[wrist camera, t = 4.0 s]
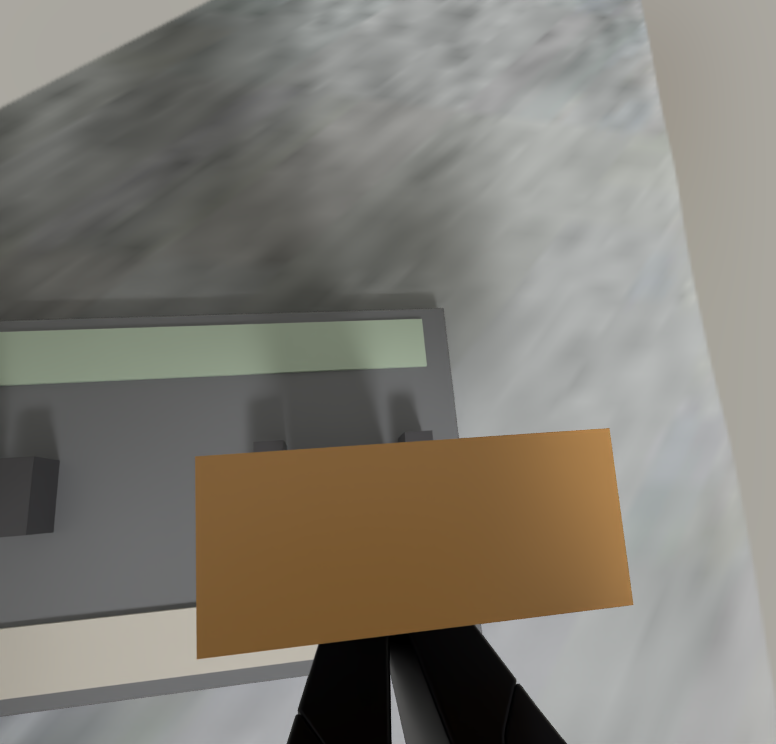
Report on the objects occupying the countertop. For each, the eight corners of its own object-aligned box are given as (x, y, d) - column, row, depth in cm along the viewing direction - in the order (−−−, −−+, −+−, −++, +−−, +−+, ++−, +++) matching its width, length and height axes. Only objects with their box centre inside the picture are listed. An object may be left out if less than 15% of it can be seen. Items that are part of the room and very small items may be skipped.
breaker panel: (477, 645, 18) (500, 666, 16) (-221, 737, 15) (-321, 780, 12) (439, 315, 21) (452, 292, 19) (-139, 332, 18) (-207, 307, 16)
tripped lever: (399, 489, 18) (633, 604, 4) (293, 498, 17) (196, 659, 4) (396, 445, 18) (608, 428, 5) (291, 452, 17) (194, 455, 4)
